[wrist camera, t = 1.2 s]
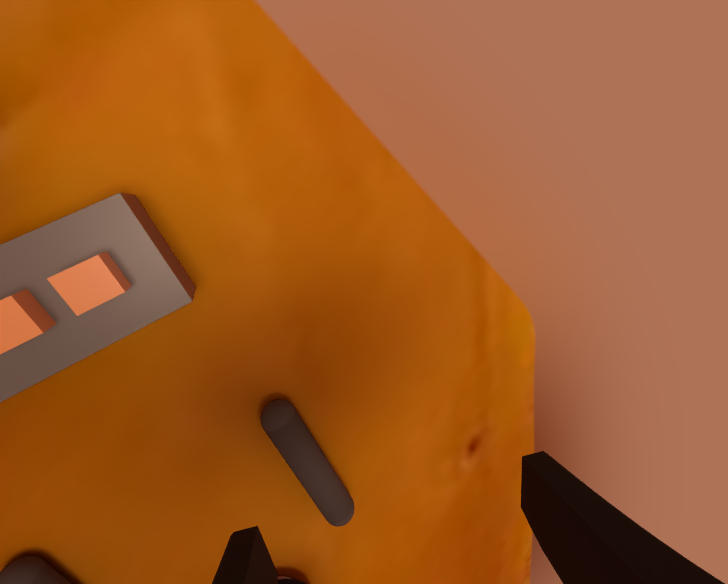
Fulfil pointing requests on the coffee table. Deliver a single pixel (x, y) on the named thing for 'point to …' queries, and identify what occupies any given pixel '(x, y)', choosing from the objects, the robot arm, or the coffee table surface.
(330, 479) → the cord
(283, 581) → the beverage can
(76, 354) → the breaker strip
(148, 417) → the coffee table surface
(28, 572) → the cord
